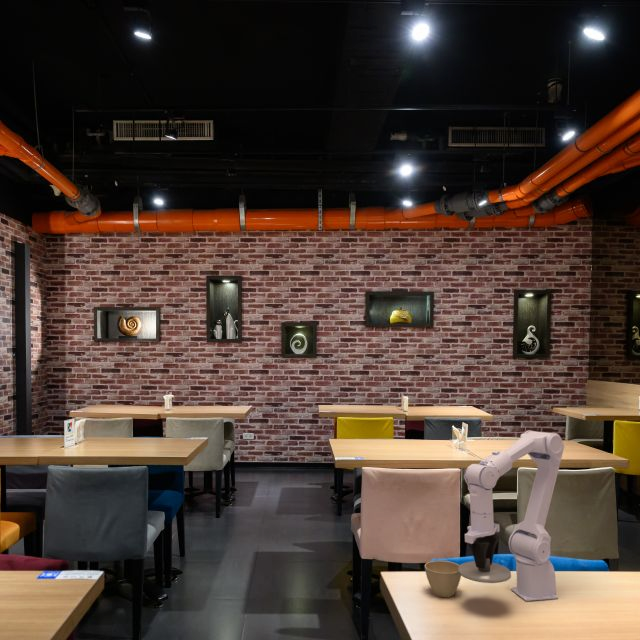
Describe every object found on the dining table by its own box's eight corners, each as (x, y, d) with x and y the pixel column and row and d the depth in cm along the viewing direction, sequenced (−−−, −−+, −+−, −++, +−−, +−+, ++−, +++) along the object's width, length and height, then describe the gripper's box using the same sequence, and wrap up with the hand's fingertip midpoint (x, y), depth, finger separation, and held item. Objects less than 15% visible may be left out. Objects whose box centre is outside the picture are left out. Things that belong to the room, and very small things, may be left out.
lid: (495, 562, 144) (494, 548, 145) (521, 580, 132) (520, 564, 132) (450, 566, 142) (449, 551, 142) (472, 584, 129) (471, 568, 130)
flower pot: (464, 602, 139) (463, 574, 140) (425, 599, 141) (424, 571, 142) (461, 587, 149) (460, 561, 150) (425, 585, 151) (424, 559, 152)
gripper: (481, 504, 146) (483, 555, 145) (453, 514, 136) (455, 569, 135) (505, 508, 141) (508, 561, 140) (478, 519, 131) (480, 576, 130)
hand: (484, 565), depth 137 cm, fingers closed on lid, 3 cm apart
